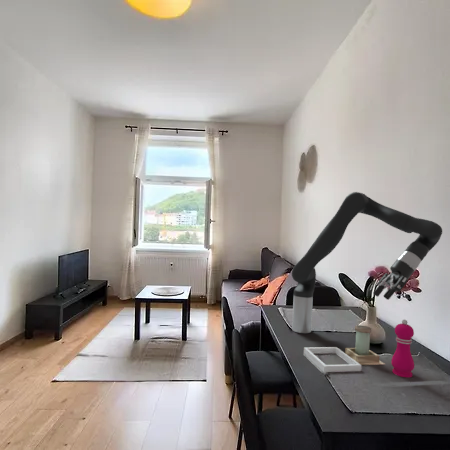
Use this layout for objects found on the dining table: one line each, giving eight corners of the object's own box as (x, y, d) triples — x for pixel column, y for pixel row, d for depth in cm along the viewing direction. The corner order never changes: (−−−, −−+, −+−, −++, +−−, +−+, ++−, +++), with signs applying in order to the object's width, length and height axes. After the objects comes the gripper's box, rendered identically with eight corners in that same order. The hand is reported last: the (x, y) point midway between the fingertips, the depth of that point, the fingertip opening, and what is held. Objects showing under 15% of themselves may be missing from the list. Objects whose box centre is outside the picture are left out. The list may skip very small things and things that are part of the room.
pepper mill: (401, 381, 117) (404, 322, 117) (386, 372, 124) (388, 317, 124) (418, 380, 119) (421, 322, 119) (402, 371, 126) (405, 316, 126)
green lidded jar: (350, 355, 137) (351, 325, 137) (364, 355, 138) (365, 325, 138) (358, 361, 131) (360, 329, 131) (373, 361, 132) (374, 329, 132)
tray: (303, 355, 138) (303, 347, 138) (336, 354, 140) (336, 347, 140) (324, 374, 120) (324, 366, 120) (361, 373, 122) (361, 365, 122)
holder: (339, 355, 139) (340, 346, 139) (366, 354, 141) (367, 346, 141) (355, 367, 127) (356, 358, 127) (385, 366, 129) (385, 357, 129)
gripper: (389, 258, 144) (365, 288, 143) (408, 259, 130) (381, 292, 129) (403, 270, 144) (379, 300, 143) (423, 272, 129) (397, 305, 128)
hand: (380, 296), depth 136 cm, fingers open, 8 cm apart
